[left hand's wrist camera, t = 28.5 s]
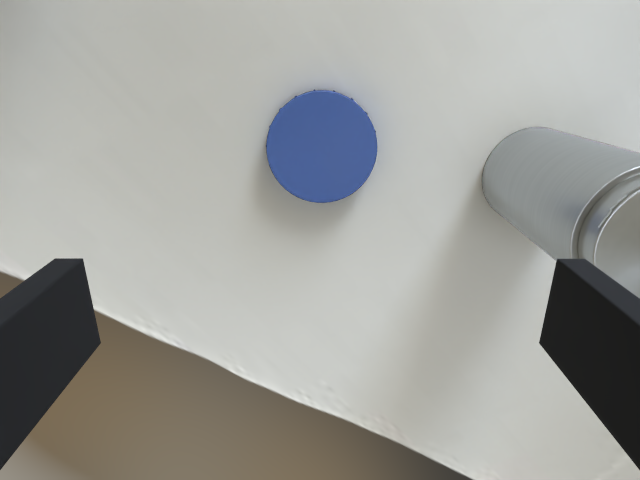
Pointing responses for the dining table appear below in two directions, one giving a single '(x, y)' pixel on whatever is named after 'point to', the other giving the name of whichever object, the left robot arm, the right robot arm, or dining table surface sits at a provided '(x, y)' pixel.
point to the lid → (321, 146)
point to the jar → (570, 198)
